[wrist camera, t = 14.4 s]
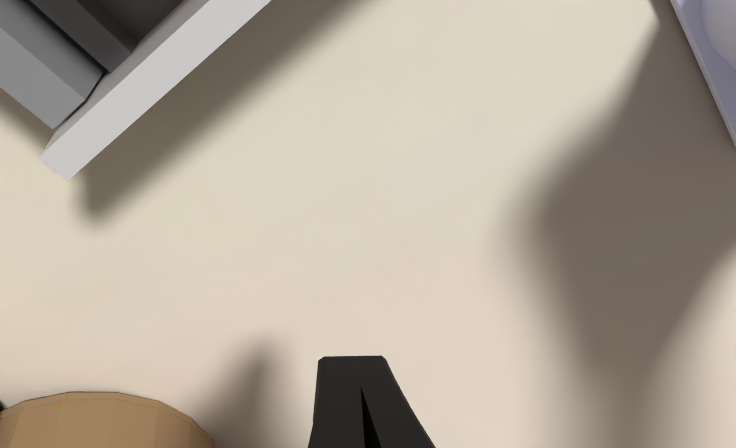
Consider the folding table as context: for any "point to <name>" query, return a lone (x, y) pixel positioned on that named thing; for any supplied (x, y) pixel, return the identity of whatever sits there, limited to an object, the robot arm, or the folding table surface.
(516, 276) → the folding table surface
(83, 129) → the tray
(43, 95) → the frame
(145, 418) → the alarm clock
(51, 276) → the folding table surface
